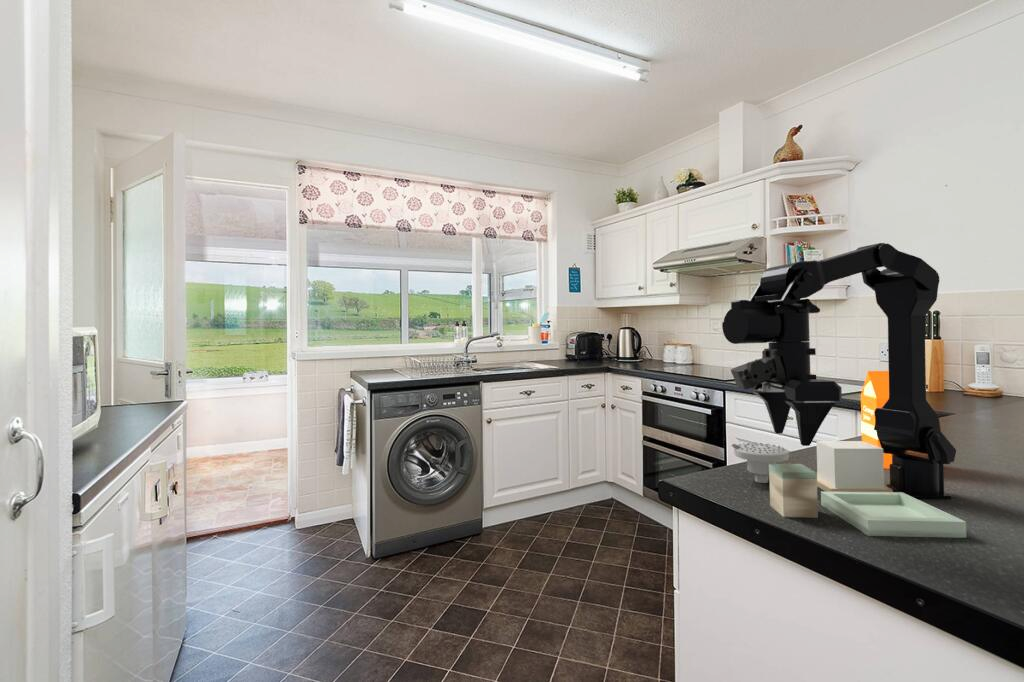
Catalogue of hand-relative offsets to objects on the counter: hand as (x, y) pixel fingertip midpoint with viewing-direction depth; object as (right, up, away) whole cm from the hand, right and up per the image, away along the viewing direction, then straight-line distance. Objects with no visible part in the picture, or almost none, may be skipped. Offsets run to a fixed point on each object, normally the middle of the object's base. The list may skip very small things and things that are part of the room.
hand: (791, 439), depth 76 cm
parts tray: (+12, -11, -5) cm, 17 cm away
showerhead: (+3, -12, +16) cm, 20 cm away
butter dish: (+17, -11, +11) cm, 23 cm away
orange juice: (+37, -11, +25) cm, 45 cm away
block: (0, -12, 0) cm, 12 cm away
